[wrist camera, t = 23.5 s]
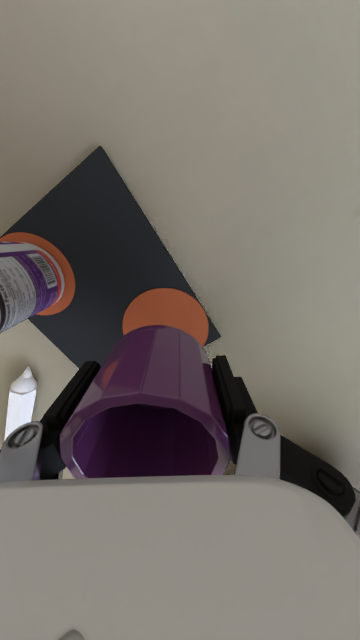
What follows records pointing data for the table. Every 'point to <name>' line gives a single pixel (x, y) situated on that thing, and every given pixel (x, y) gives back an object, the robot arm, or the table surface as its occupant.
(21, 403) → the white pencil
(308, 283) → the table surface
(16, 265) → the pill bottle
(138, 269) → the placemat
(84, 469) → the cup
